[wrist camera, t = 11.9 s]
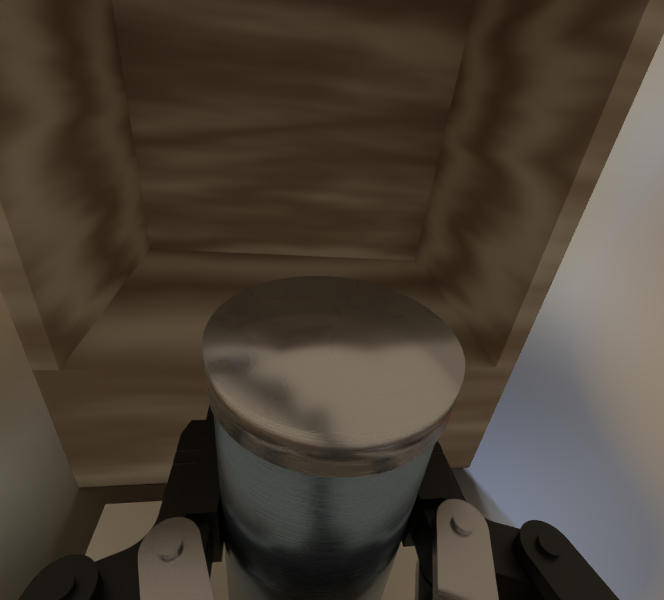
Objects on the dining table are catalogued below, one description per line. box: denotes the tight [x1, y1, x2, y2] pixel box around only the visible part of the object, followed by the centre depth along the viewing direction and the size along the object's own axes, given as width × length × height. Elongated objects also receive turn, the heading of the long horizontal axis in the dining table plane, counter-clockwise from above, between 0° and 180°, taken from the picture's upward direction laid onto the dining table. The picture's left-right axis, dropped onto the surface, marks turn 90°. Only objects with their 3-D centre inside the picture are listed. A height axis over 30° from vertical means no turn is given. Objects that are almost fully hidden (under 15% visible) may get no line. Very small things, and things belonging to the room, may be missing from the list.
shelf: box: [0, 0, 664, 487], centre depth 20 cm, size 15×23×27 cm, turn 97°
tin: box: [202, 276, 465, 600], centre depth 11 cm, size 5×5×12 cm
